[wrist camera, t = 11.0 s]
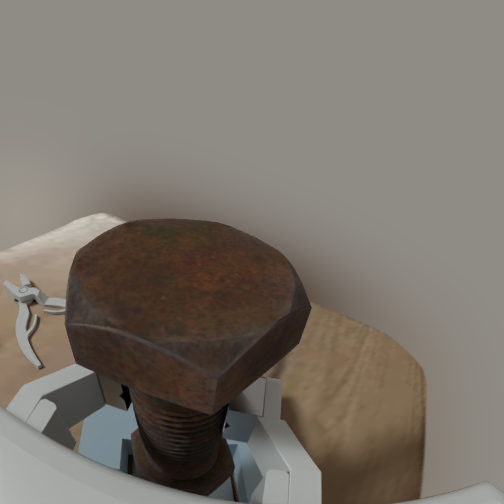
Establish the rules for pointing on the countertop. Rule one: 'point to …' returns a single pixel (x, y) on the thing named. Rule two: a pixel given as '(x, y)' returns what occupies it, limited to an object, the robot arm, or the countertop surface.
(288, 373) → the countertop surface
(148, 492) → the robot arm
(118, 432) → the pocket frame
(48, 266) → the countertop surface
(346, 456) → the countertop surface
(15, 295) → the pliers
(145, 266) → the bolt
